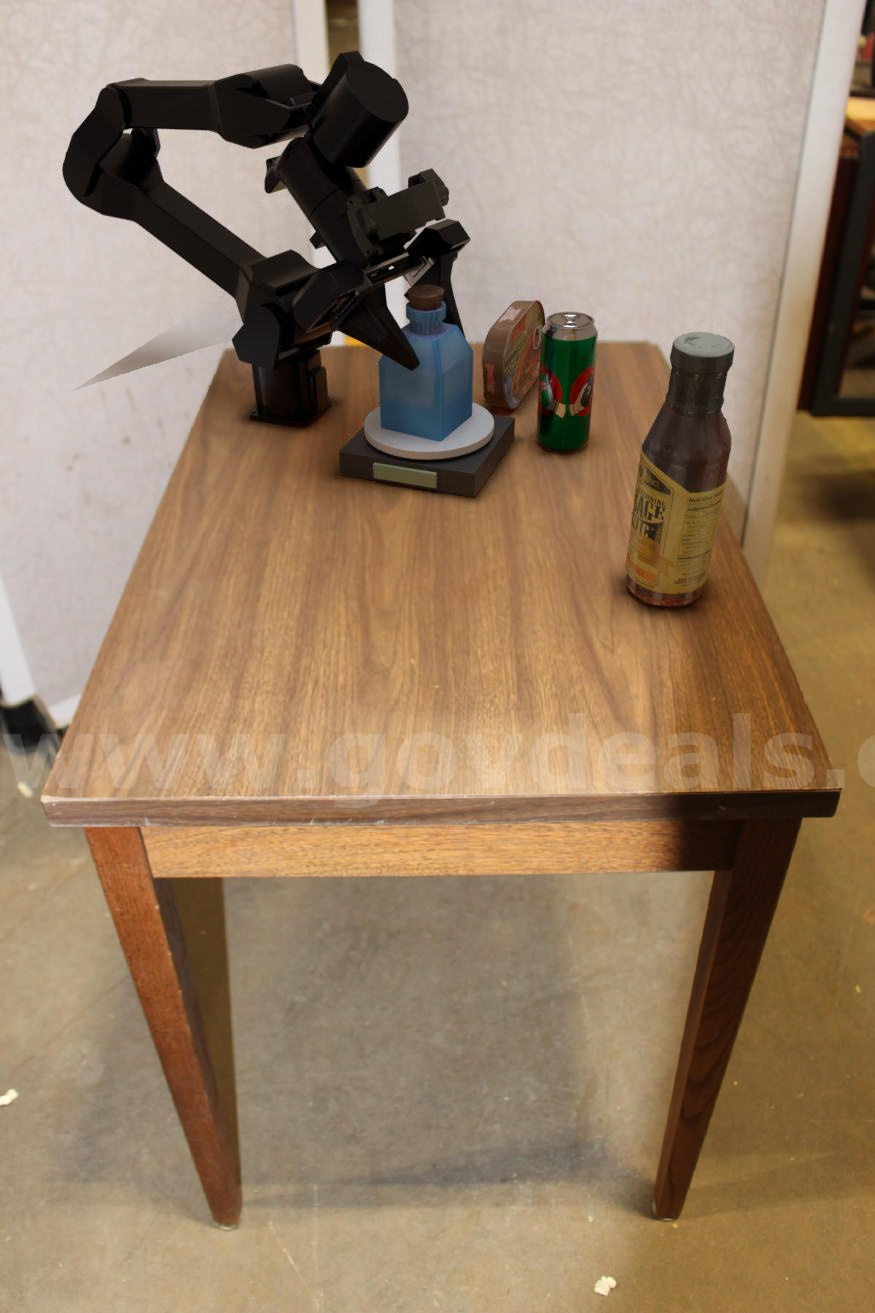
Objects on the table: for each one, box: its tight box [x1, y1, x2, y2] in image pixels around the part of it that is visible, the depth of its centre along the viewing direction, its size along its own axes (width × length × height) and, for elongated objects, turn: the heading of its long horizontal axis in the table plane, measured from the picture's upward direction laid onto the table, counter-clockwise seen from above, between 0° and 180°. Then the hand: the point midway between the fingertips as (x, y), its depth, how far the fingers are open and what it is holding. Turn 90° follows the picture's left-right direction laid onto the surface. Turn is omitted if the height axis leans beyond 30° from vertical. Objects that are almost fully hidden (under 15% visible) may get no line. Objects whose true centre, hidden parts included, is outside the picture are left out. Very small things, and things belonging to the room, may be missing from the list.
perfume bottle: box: [377, 285, 474, 442], centre depth 94 cm, size 6×6×12 cm
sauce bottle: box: [625, 331, 736, 608], centre depth 76 cm, size 6×6×20 cm
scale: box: [338, 402, 516, 498], centre depth 99 cm, size 13×12×4 cm
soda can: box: [535, 311, 599, 453], centre depth 99 cm, size 5×5×12 cm
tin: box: [481, 299, 546, 410], centre depth 110 cm, size 15×3×8 cm, turn 160°
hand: (439, 355), depth 94 cm, fingers closed on perfume bottle, 6 cm apart
